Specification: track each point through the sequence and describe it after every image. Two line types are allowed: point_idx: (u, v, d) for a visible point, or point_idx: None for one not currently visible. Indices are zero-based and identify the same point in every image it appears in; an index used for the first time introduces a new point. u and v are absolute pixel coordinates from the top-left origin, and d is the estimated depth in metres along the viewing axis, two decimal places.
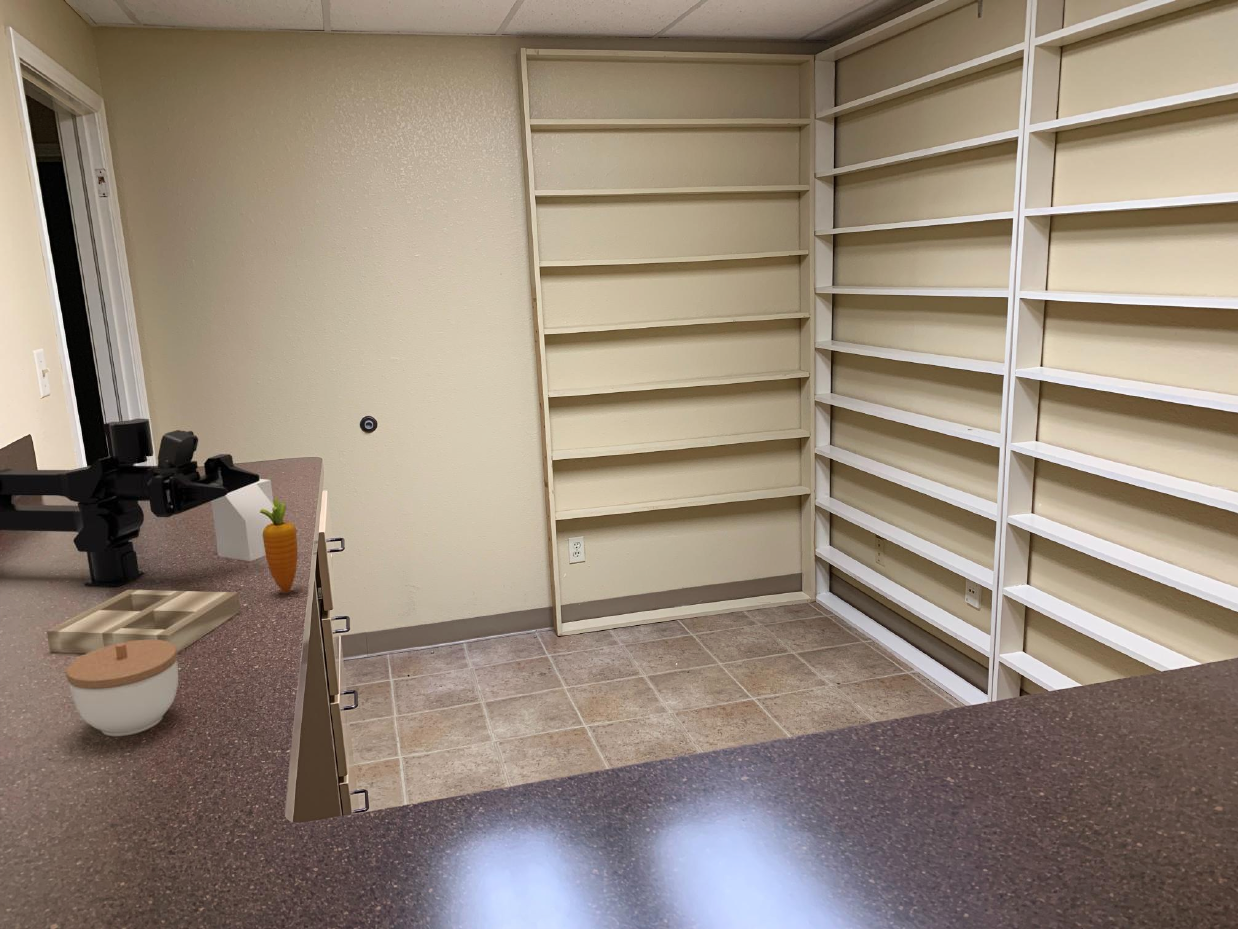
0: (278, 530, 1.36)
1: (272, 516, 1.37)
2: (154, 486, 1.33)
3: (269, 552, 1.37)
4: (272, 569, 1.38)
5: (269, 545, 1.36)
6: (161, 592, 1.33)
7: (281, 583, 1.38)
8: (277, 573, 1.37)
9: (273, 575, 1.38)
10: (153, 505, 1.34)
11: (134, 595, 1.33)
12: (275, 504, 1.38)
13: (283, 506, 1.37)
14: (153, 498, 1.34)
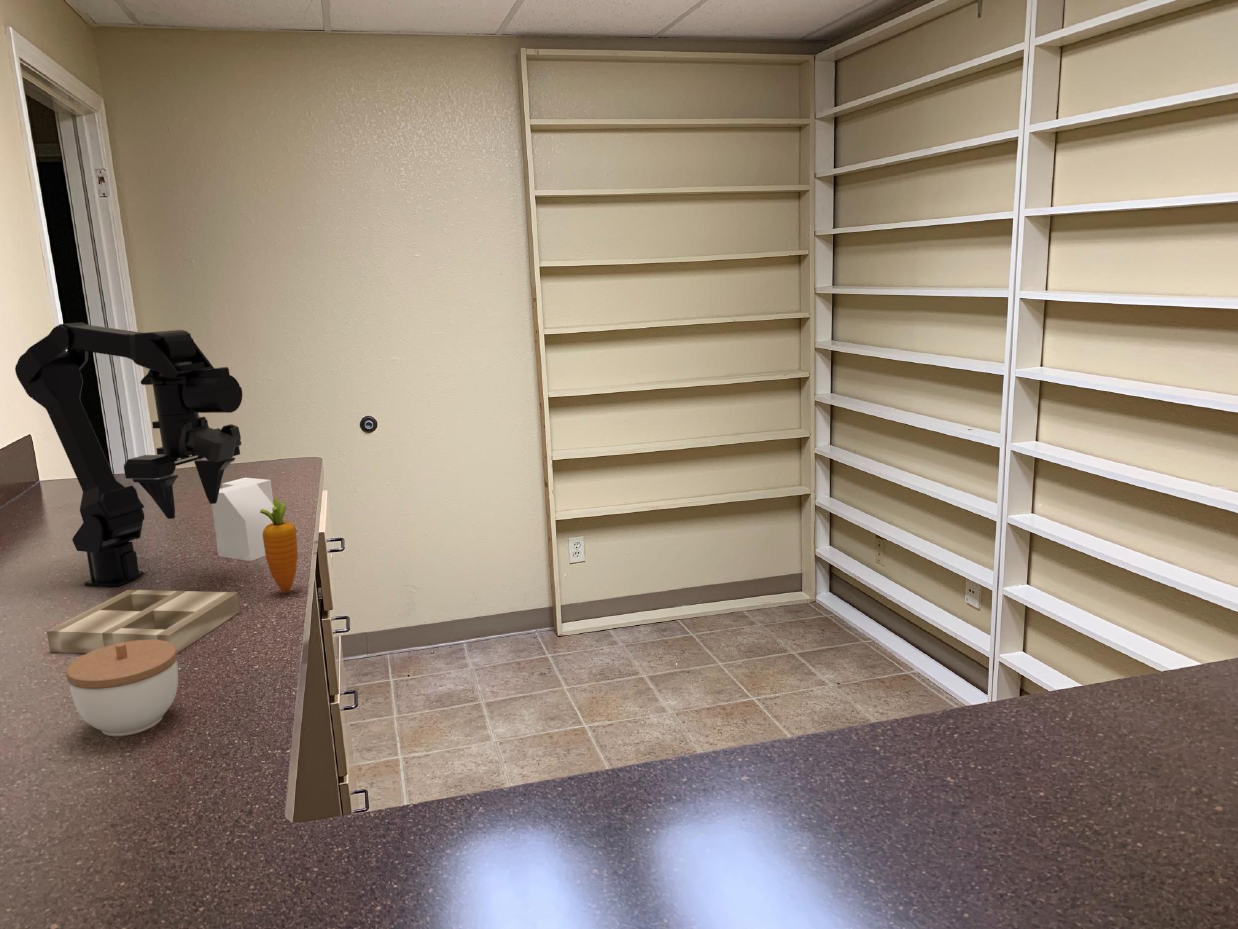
0: (278, 530, 1.36)
1: (272, 516, 1.37)
2: (148, 470, 1.30)
3: (269, 552, 1.37)
4: (272, 569, 1.38)
5: (269, 545, 1.36)
6: (161, 592, 1.33)
7: (281, 583, 1.38)
8: (277, 573, 1.37)
9: (273, 575, 1.38)
10: (131, 466, 1.30)
11: (134, 595, 1.33)
12: (275, 504, 1.38)
13: (283, 506, 1.37)
14: (137, 467, 1.30)
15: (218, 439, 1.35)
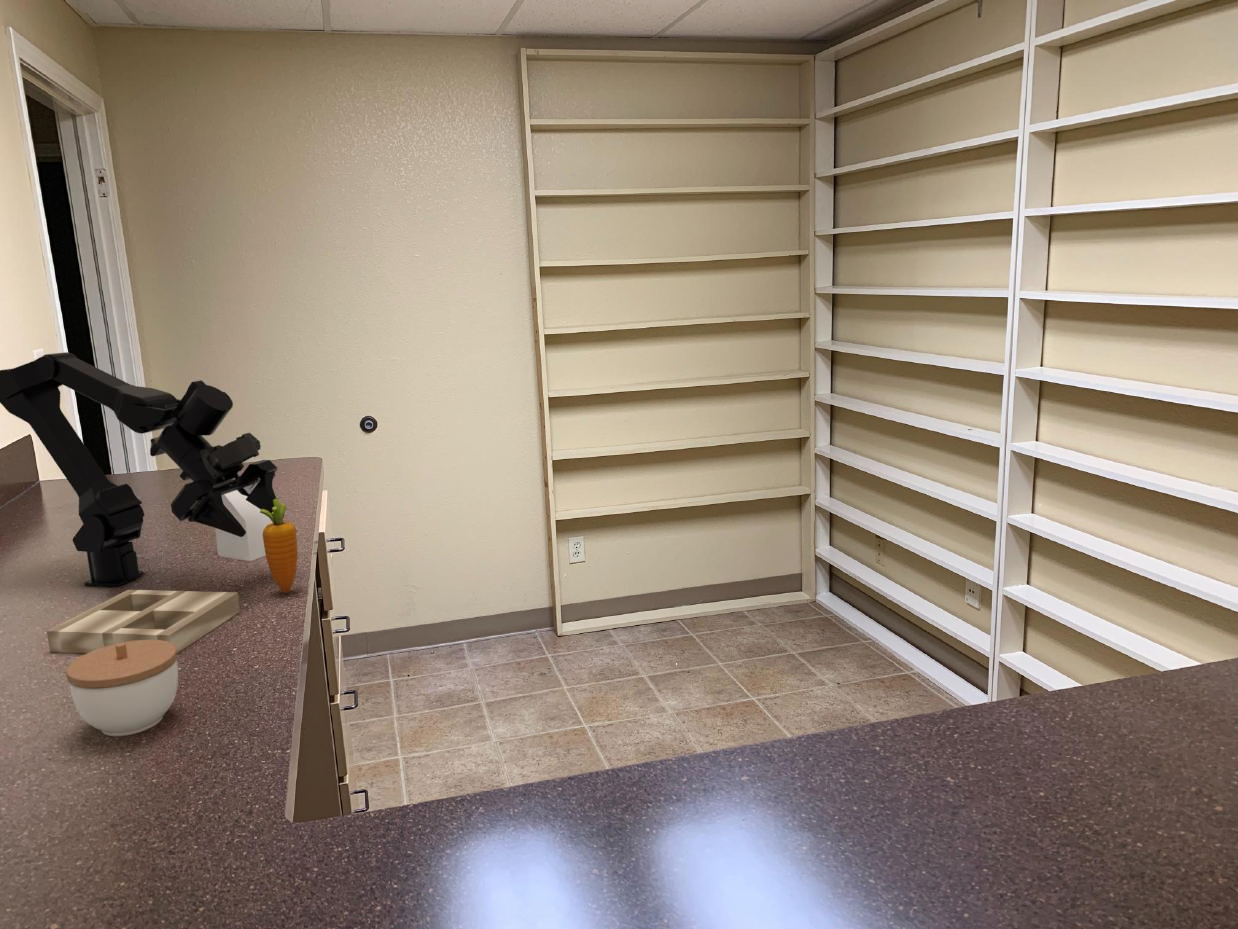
0: (278, 530, 1.36)
1: (272, 516, 1.37)
2: (188, 494, 1.30)
3: (269, 552, 1.37)
4: (272, 569, 1.38)
5: (269, 545, 1.36)
6: (161, 592, 1.33)
7: (281, 583, 1.38)
8: (277, 573, 1.37)
9: (273, 575, 1.38)
10: (176, 504, 1.31)
11: (134, 595, 1.33)
12: (275, 504, 1.38)
13: (283, 506, 1.37)
14: (180, 500, 1.30)
15: None
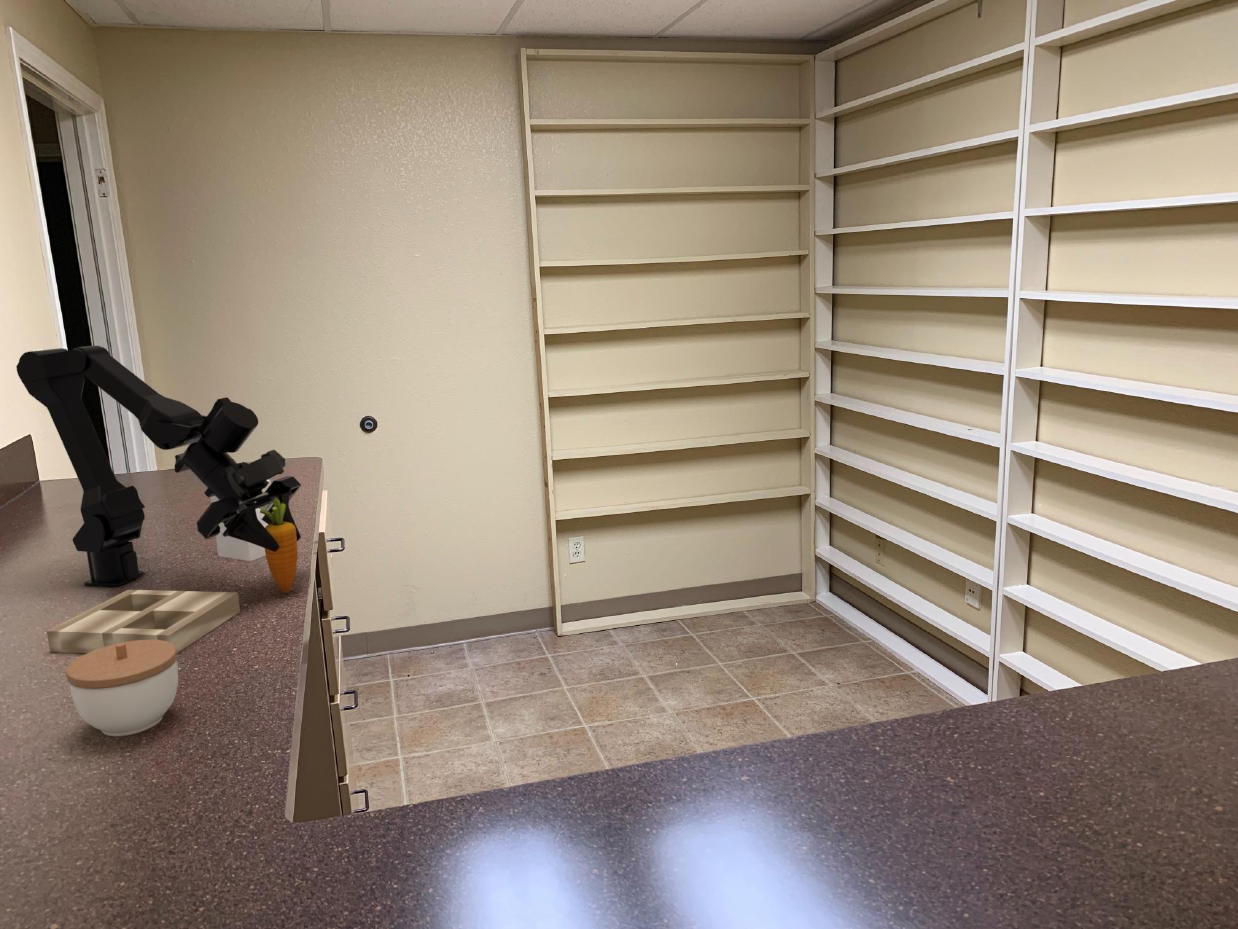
0: (278, 530, 1.36)
1: (272, 516, 1.37)
2: (214, 513, 1.29)
3: (269, 552, 1.37)
4: (272, 569, 1.38)
5: None
6: (161, 592, 1.33)
7: (281, 583, 1.38)
8: (277, 573, 1.37)
9: (273, 575, 1.38)
10: (201, 523, 1.30)
11: (134, 595, 1.33)
12: (275, 504, 1.38)
13: (283, 506, 1.37)
14: (206, 519, 1.30)
15: None
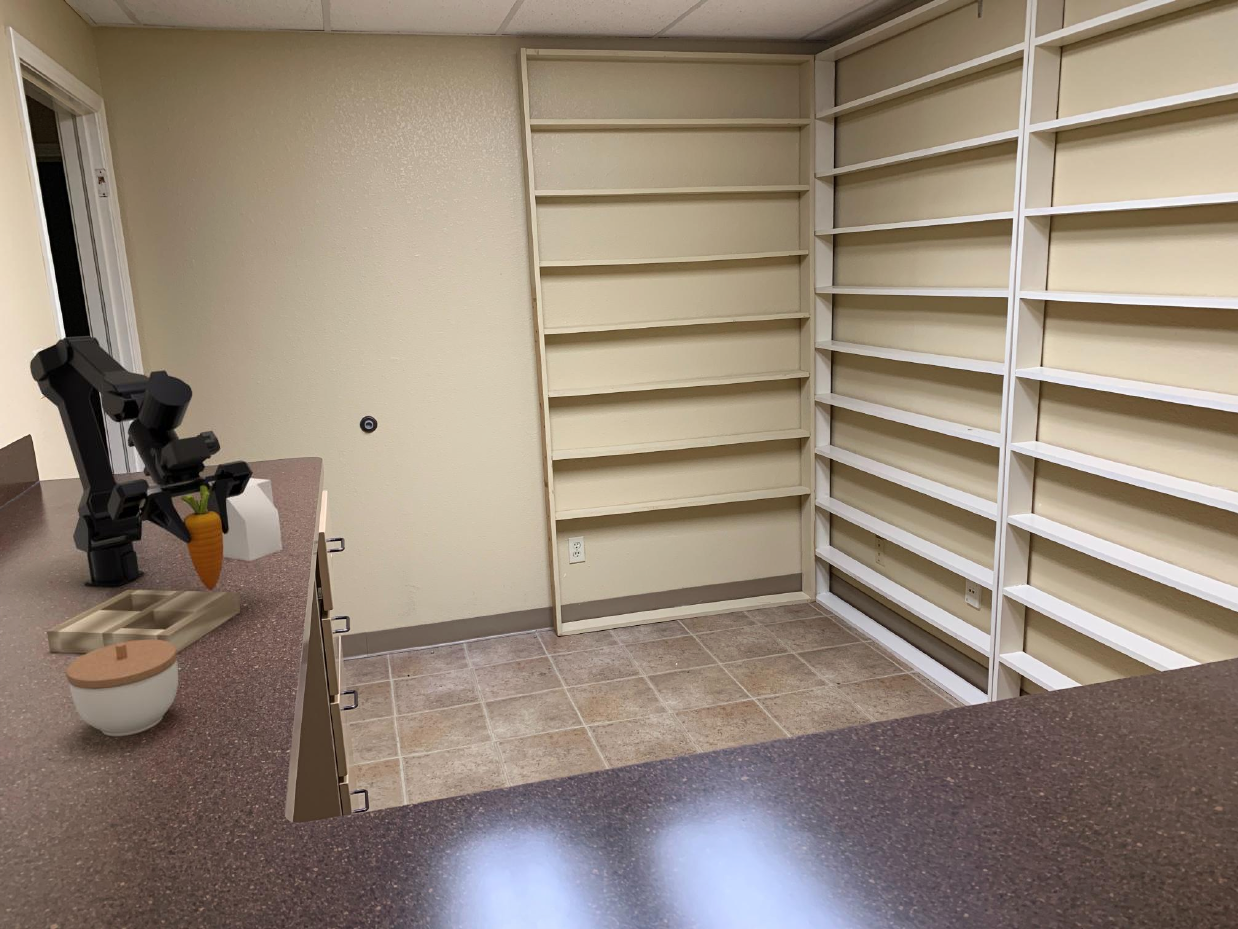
0: (194, 520, 1.23)
1: None
2: (116, 495, 1.19)
3: (187, 544, 1.24)
4: (192, 561, 1.25)
5: None
6: (161, 592, 1.33)
7: (201, 579, 1.26)
8: (195, 567, 1.25)
9: None
10: (109, 504, 1.21)
11: (134, 595, 1.33)
12: (201, 491, 1.25)
13: (205, 494, 1.24)
14: (112, 500, 1.20)
15: None
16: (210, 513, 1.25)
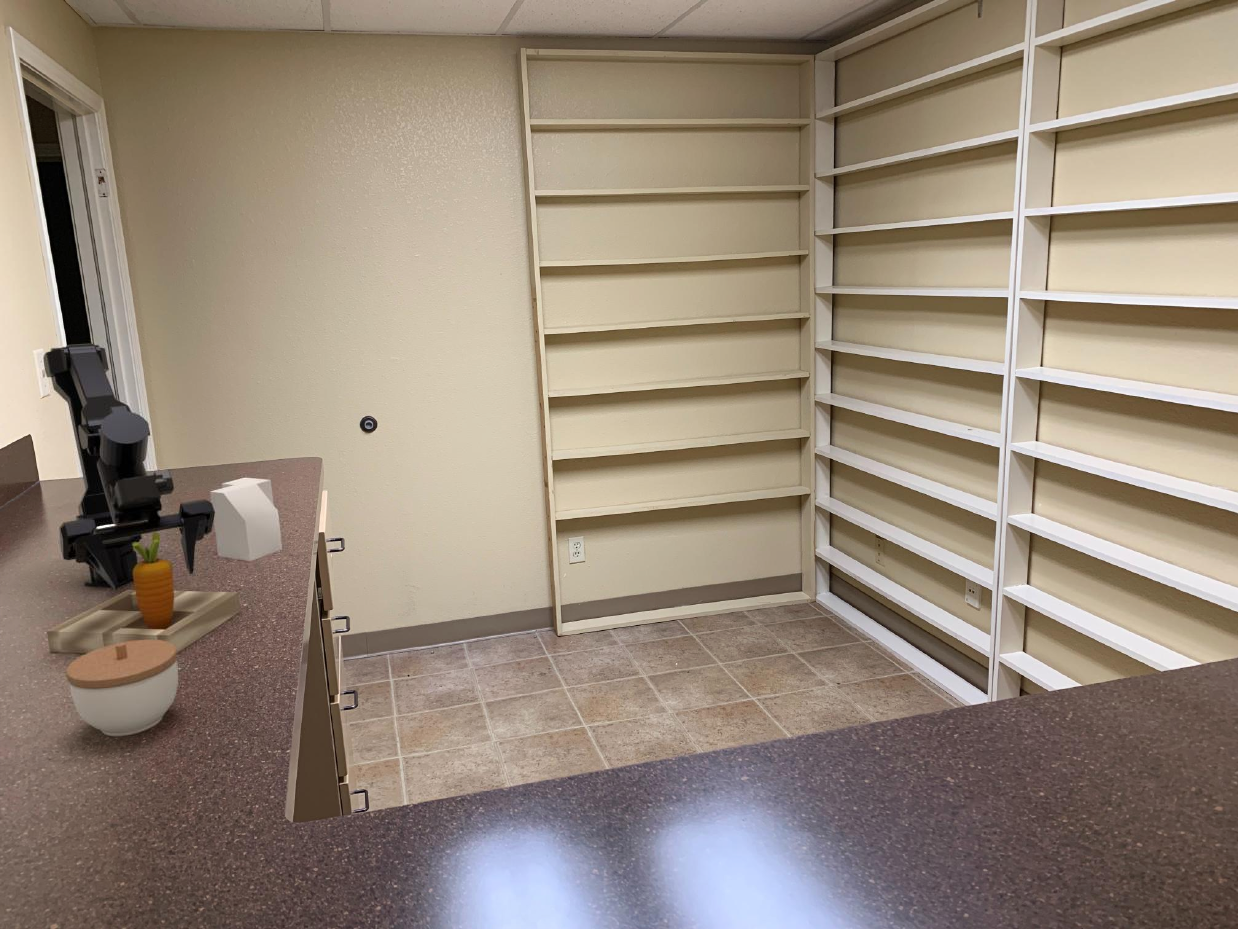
0: (140, 569, 1.19)
1: None
2: (61, 534, 1.16)
3: None
4: None
5: None
6: None
7: (150, 628, 1.22)
8: (143, 617, 1.21)
9: None
10: (60, 542, 1.19)
11: (134, 595, 1.33)
12: None
13: (153, 543, 1.20)
14: (60, 539, 1.18)
15: None
16: (159, 562, 1.20)
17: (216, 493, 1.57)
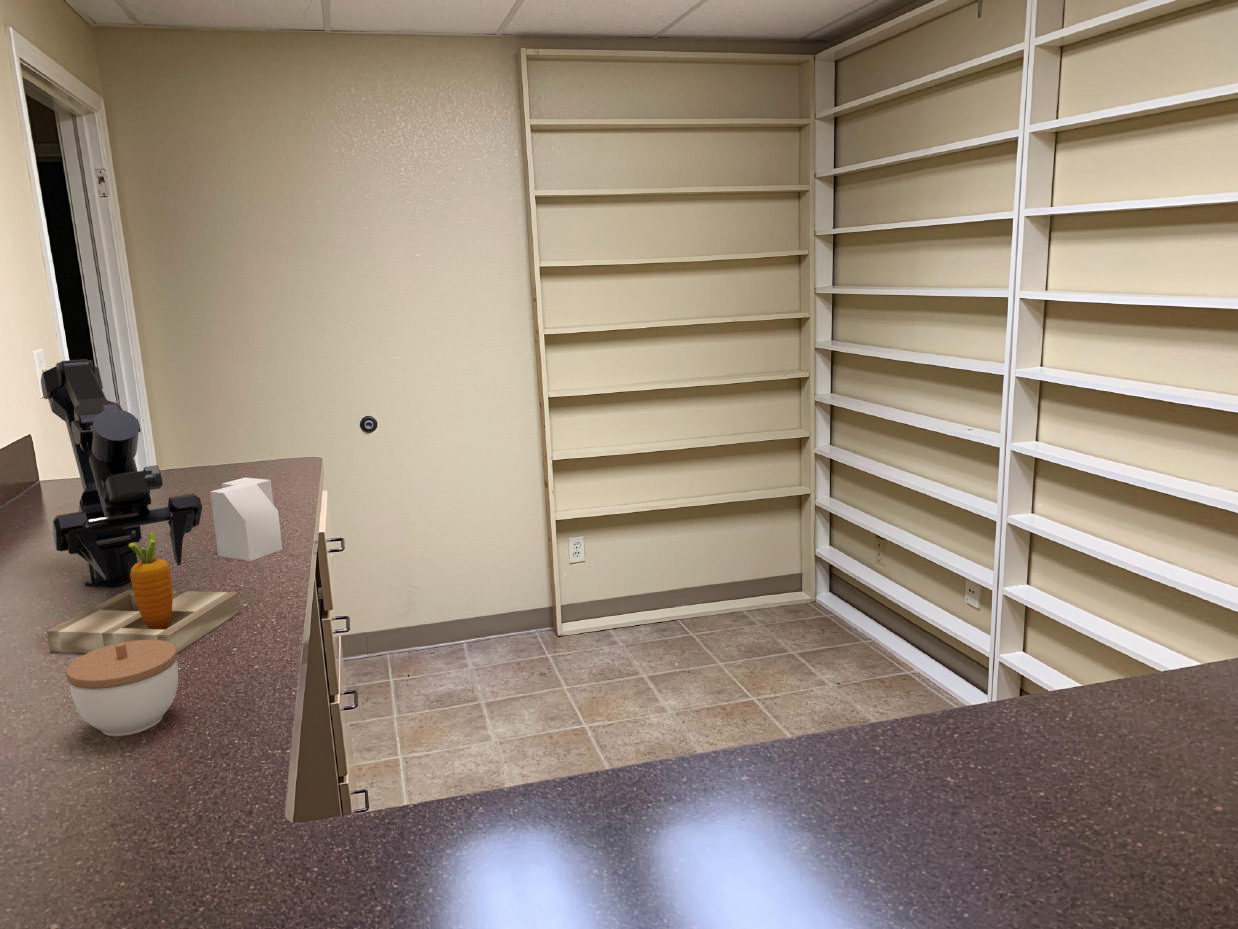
0: (137, 569, 1.19)
1: None
2: (54, 527, 1.22)
3: None
4: None
5: None
6: None
7: None
8: (142, 617, 1.21)
9: None
10: (53, 534, 1.24)
11: None
12: (149, 539, 1.21)
13: (150, 543, 1.20)
14: (53, 531, 1.23)
15: None
16: (156, 562, 1.20)
17: (216, 493, 1.57)
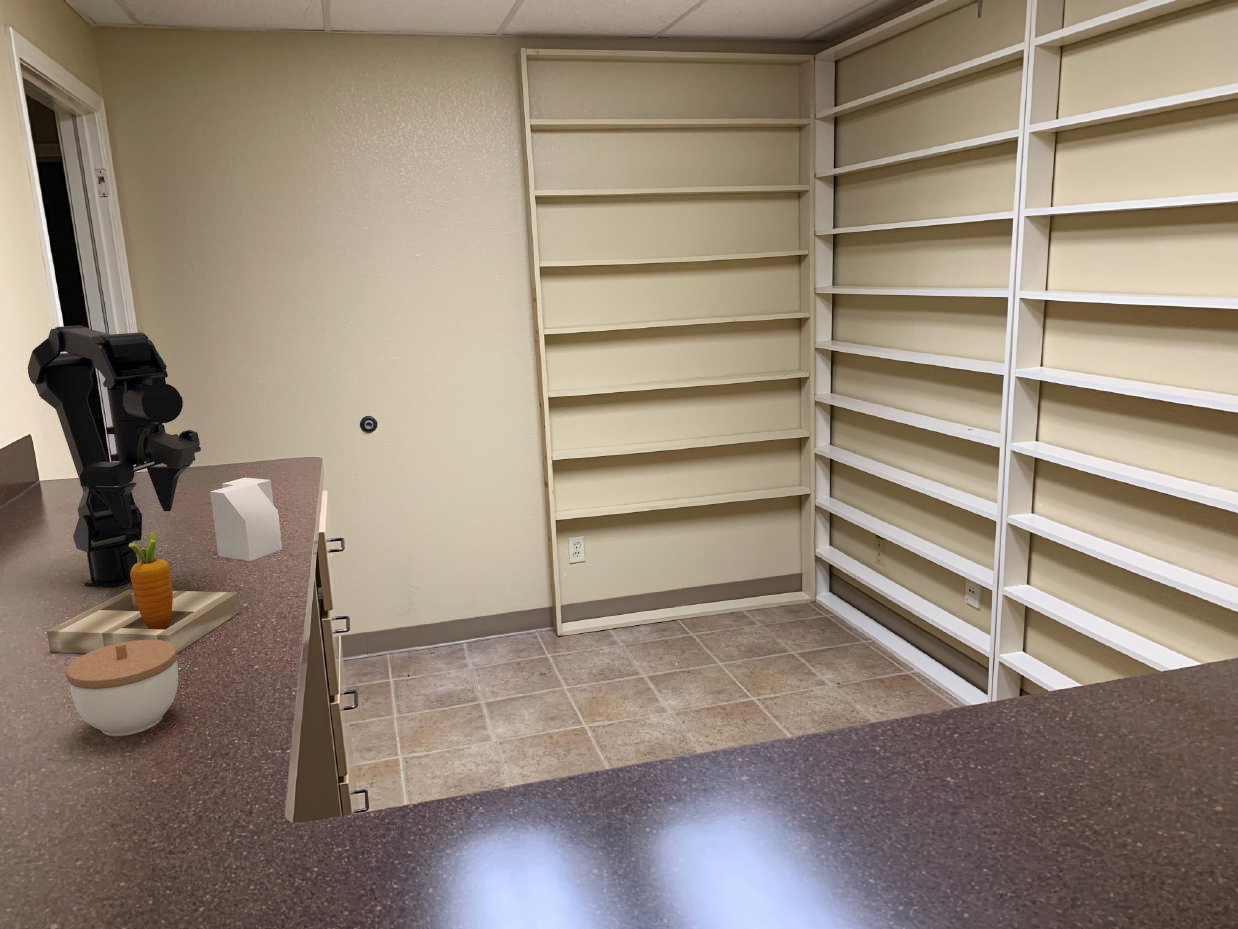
0: (137, 569, 1.19)
1: None
2: (107, 478, 1.25)
3: None
4: None
5: None
6: None
7: None
8: (142, 617, 1.21)
9: None
10: (88, 474, 1.26)
11: None
12: (149, 539, 1.21)
13: (150, 543, 1.20)
14: (95, 475, 1.25)
15: (179, 445, 1.32)
16: (156, 562, 1.20)
17: (216, 493, 1.57)
